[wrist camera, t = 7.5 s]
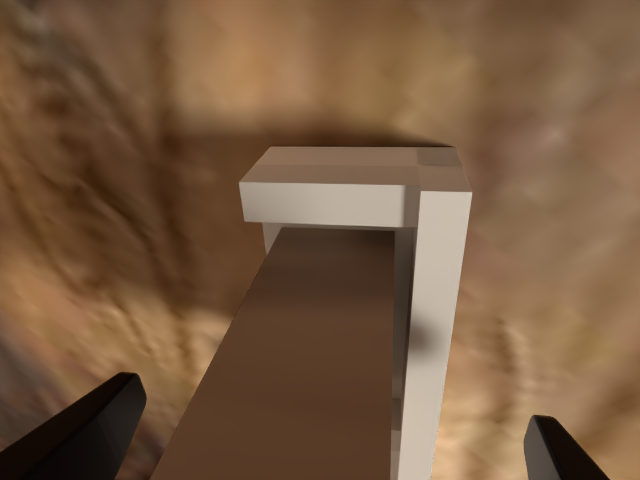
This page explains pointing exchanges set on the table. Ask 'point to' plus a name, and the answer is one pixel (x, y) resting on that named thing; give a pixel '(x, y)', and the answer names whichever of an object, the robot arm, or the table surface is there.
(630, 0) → the table surface
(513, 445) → the table surface
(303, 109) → the table surface
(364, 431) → the tall taupe pillar block
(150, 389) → the table surface
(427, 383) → the white tray base
